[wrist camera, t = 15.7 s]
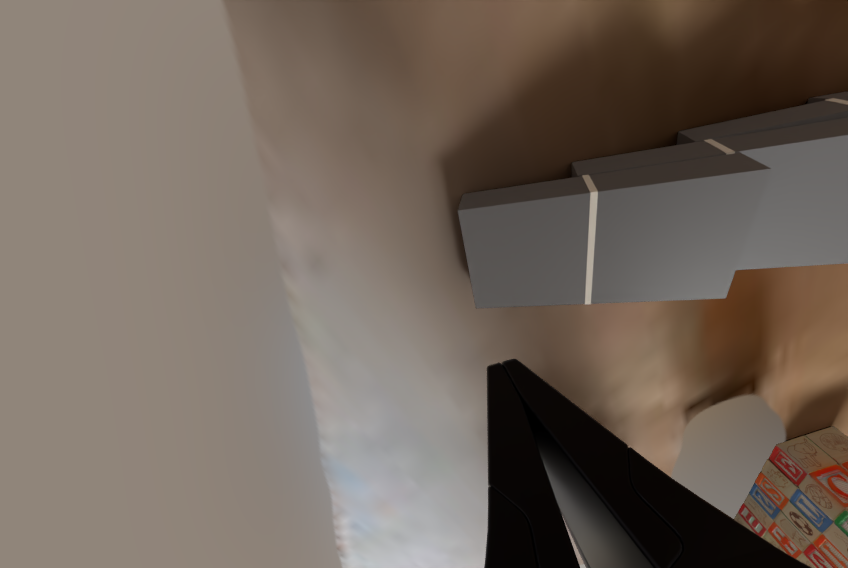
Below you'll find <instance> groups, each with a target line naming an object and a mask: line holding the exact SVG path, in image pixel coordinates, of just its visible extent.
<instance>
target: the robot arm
mask: <svg viewBox="0 0 848 568" xmlns="http://www.w3.org/2000/svg"><path fill="white" fill-rule="evenodd" d="M487 421H488V486H489V488H488V533H487V545H486V558H485V567H484V568H580V566H579V563H578V560H577V557H576V555H575V552H574V549H573V546H572V543H571V540H570V537H569V535H568V532H567V529H566V526H565V523H564V520H565V522H566V525H567V527H568V529H569V531H570V533H571V536H572V538H573V540H574V542H575V544H576V547H577V549H578V551H579V553H580V555H581V558H582V560H583V562H584V564H585V566H586V568H812V567H810V566H808V565H806V564H804V563H802V562H800V561H799V560H797V559H795V558H793V557H792V556H790V555H788V554H786V553H785V552H783V551H782V550H780V549H779V548H777V547H775V546H774V545H772V544H771V543H769V542H768V541H766V540H765V539H763V538H762V537H760V536H758V535H757V534H755V533H754V532H752V531H751V530H749V529H748V528H746V527H745V526H743V525H742V524H740V523H739V522H737V521H735V520H734V519H732V518H731V517H729V516H728V515H726V514H725V513H723V512H722V511H720V510H719V509H717V508H715V507H714V506H712V505H711V504H709V503H708V502H706V501H705V500H703V499H702V498H700V497H699V496H697V495H696V494H694V493H693V492H691V491H690V490H688V489H687V488H685V487H684V486H682V485H681V484H679V483H678V482H676V481H675V480H674V479H672V478H671V477H669V476H668V475H667V474H665V473H664V472H662V471H661V470H660V469H658V468H657V467H656V466H654V465H653V464H652V463H650V462H649V461H648V460H646V459H645V458H644V457H642V456H641V455H640V454H639V453H637V452H636V451H635V450H633V449H632V448H628V445H627V444H625V443H624V442H623V441H622V440H620V439H619V438H618V437H616V436H615V435H614V434H613V433H611V432H610V431H609V430H607V429H606V428H605V427H603V426H602V425H601V424H600V423H598V422H597V421H596V420H594V419H593V418H592V417H591V416H589V415H588V414H587V413H585V412H584V411H583V410H581V409H580V408H579V407H578V406H576V405H575V404H574V403H572V402H571V401H570V400H569V399H567V398H566V397H565V396H563V395H562V394H561V393H559V392H558V391H557V390H556V389H554V388H553V387H552V386H550V385H549V384H548V383H547V382H545V381H544V380H543V379H541V378H540V377H539V376H537V375H536V374H535V373H534V372H532V371H531V370H530V369H528V368H527V367H526V366H525V365H523V364H522V363H521V362H519V361H518V360H516V359H511V360H507V361H504V362H502V364H501V363H496V364H493V365H489V366H488V367H487ZM562 516H563V517H562ZM563 518H564V520H563Z"/></svg>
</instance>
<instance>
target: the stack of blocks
mask: <svg viewBox="0 0 848 568" xmlns="http://www.w3.org/2000/svg"><path fill="white" fill-rule="evenodd" d="M734 520H735V521H737V522H739V523H740V524H742V525H743V526H745V527H746V528H748V529H749V530H751V531H752V532H754V533H755V534H757V535H758V536H760V537H762V538H763V539H765V540H766V541H768V542H769V543H771V544H772V545H774V546H775V547H777V548H779V549H780V550H782V551H783V552H785V553H786V554H788V555H790V556H792V557H793V558H795V559H797V560H799V561H800V562H802V563H804V564H806V565H808V566H810V567H812V568H848V437H847V436H846V435H845V434H843V433H842V432H841V431H839V430H838V429H837V428H835V427H834V426H833V427H829V428H826V429H822V430H819V431H816V432H813V433H810V434H807V435H805V436H801V437H798V438H795V439H792V440H789V441H786V442H783V443H780V444H777V445H776V446H775V448H774V449H773V451H772V454H771V455H770V457H769V459H768V460H767V461H766V463H765V465H764V466H763V468H762V471H761V472H760V473H759V475H758V477H757V479H756V480H755V483H754V485H753V487H752V489H751V491H750V492H749V494H748V496H747V498H746V500H745V501H744V503H743V504H742V506H741V508H740V509H739V511H738V513H737V514H736V516H735V518H734Z"/></svg>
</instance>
